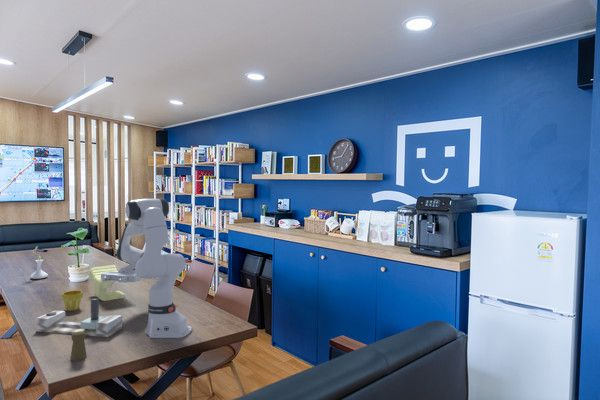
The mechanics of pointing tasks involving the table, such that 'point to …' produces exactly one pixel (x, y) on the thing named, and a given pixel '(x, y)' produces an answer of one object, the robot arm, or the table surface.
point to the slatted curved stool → (104, 283)
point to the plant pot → (72, 299)
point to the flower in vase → (38, 268)
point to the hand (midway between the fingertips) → (111, 280)
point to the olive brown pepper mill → (78, 346)
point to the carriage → (93, 316)
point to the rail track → (77, 325)
